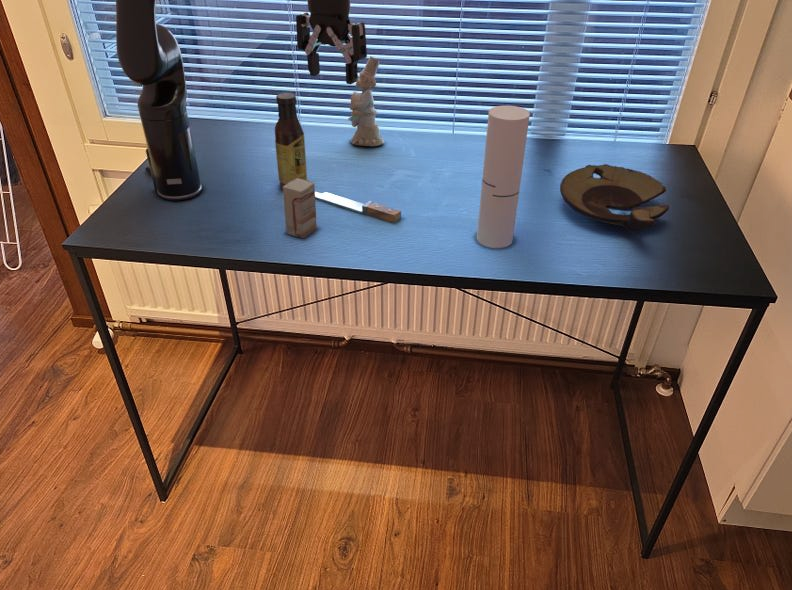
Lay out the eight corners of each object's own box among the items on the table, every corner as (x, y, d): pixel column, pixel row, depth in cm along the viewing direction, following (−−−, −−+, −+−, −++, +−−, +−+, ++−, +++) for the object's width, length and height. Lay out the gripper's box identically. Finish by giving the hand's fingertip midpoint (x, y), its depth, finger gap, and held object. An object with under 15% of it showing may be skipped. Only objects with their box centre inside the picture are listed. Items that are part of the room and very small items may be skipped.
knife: (309, 197, 145) (308, 188, 144) (318, 191, 147) (318, 183, 146) (393, 224, 136) (393, 215, 135) (401, 218, 138) (402, 209, 137)
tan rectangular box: (303, 239, 131) (299, 192, 124) (285, 234, 132) (280, 186, 126) (318, 228, 134) (315, 181, 128) (301, 223, 136) (296, 176, 129)
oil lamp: (662, 193, 149) (671, 160, 144) (666, 260, 127) (678, 224, 122) (561, 180, 153) (567, 148, 148) (548, 243, 131) (555, 208, 126)
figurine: (383, 135, 172) (382, 54, 159) (384, 148, 166) (384, 64, 153) (349, 136, 172) (345, 54, 159) (349, 149, 165) (345, 64, 152)
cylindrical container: (489, 226, 136) (503, 102, 120) (519, 238, 132) (537, 111, 116) (469, 239, 132) (480, 113, 116) (499, 252, 128) (515, 123, 112)
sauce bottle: (302, 194, 146) (294, 102, 133) (275, 191, 147) (265, 100, 134) (311, 181, 151) (304, 92, 138) (285, 179, 152) (276, 89, 139)
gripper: (282, -20, 115) (291, 77, 126) (348, -10, 110) (351, 91, 120) (309, -27, 120) (315, 67, 131) (373, -17, 114) (375, 80, 125)
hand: (333, 79), depth 125 cm, fingers open, 8 cm apart
